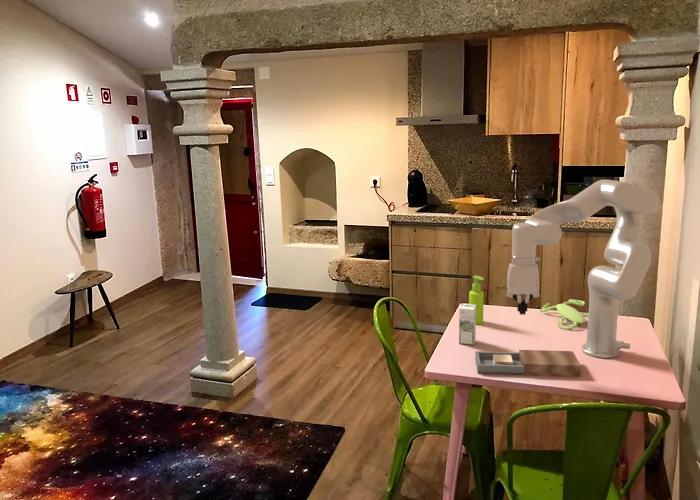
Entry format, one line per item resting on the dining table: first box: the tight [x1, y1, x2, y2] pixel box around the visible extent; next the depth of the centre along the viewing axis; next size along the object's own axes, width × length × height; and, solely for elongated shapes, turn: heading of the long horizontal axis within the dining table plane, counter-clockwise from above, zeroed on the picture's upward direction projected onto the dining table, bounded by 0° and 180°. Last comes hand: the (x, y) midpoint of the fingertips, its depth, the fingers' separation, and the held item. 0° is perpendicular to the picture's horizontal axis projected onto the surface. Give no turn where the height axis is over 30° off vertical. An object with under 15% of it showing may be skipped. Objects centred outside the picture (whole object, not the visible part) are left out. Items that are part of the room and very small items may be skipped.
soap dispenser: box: [468, 275, 485, 326], centre depth 241 cm, size 6×7×20 cm
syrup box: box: [458, 303, 477, 346], centre depth 221 cm, size 6×6×14 cm
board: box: [518, 349, 582, 378], centre depth 198 cm, size 18×12×4 cm, turn 82°
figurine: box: [539, 298, 589, 331], centre depth 244 cm, size 18×27×6 cm
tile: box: [493, 354, 513, 365], centre depth 200 cm, size 6×6×2 cm
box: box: [474, 350, 525, 376], centre depth 200 cm, size 15×12×3 cm
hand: (522, 313), depth 196 cm, fingers closed
